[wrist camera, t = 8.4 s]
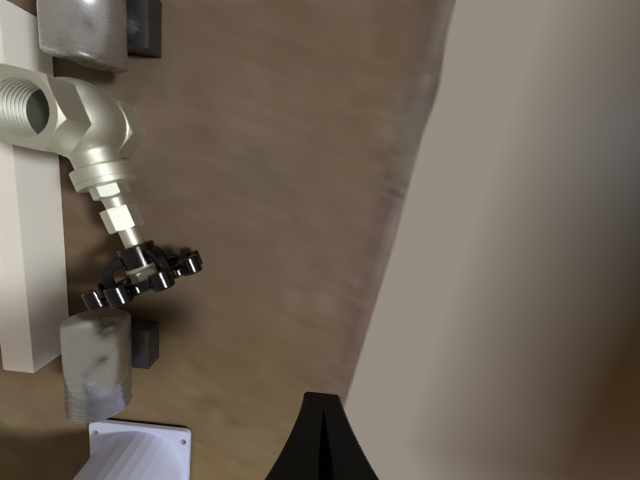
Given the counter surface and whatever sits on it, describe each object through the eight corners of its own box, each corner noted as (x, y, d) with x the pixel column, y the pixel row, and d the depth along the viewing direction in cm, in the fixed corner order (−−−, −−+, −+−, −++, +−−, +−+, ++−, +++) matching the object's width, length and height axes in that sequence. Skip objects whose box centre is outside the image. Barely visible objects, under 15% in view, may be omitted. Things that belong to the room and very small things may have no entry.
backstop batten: (70, 347, 23) (33, 373, 20) (44, 344, 23) (3, 369, 20) (50, 24, 18) (-2, -5, 15) (16, 20, 18) (-42, -10, 15)
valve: (59, 112, 19) (135, 280, 22) (-73, 81, 13) (57, 325, 15) (152, 80, 19) (220, 255, 21) (65, 31, 12) (176, 290, 15)
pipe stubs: (158, 374, 23) (115, 427, 18) (101, 368, 23) (43, 419, 18) (161, -27, 18) (100, -105, 13) (85, -38, 17) (-6, -120, 13)
